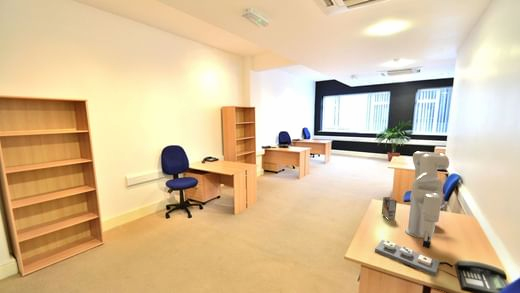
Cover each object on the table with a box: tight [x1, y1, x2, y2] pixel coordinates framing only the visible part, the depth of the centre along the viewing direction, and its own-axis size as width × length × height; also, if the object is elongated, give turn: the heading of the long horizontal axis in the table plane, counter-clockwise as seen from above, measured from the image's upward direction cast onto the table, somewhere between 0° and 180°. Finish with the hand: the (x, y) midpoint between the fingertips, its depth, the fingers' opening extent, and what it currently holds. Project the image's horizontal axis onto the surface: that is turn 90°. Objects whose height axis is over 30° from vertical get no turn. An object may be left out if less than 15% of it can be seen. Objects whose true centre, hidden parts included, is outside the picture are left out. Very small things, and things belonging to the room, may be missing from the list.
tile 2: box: [383, 239, 397, 250], centre depth 138 cm, size 6×6×4 cm
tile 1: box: [418, 254, 432, 266], centre depth 126 cm, size 6×6×4 cm
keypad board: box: [374, 239, 441, 277], centre depth 132 cm, size 14×30×2 cm, turn 45°
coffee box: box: [381, 196, 398, 220], centre depth 185 cm, size 9×6×16 cm
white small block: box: [400, 245, 414, 257], centre depth 132 cm, size 6×6×4 cm
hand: (426, 247), depth 125 cm, fingers closed
